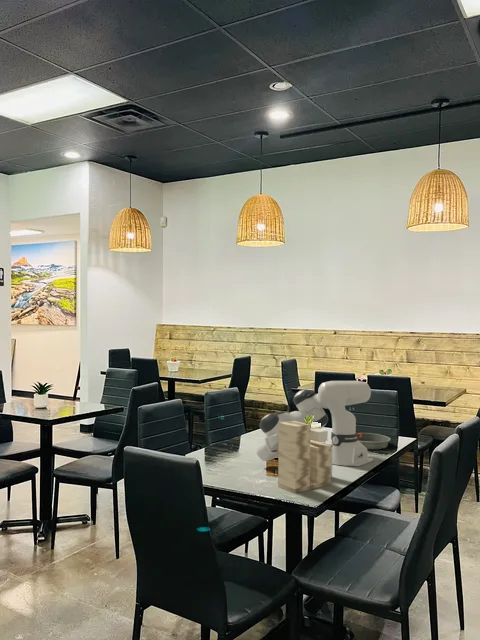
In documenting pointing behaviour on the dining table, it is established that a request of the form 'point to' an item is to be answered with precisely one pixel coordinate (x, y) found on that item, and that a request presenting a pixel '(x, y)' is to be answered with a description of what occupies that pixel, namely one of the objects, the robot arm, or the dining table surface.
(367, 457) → the robot arm
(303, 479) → the stepped wooden stack
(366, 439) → the cake pan
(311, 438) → the block hammer
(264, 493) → the dining table surface
